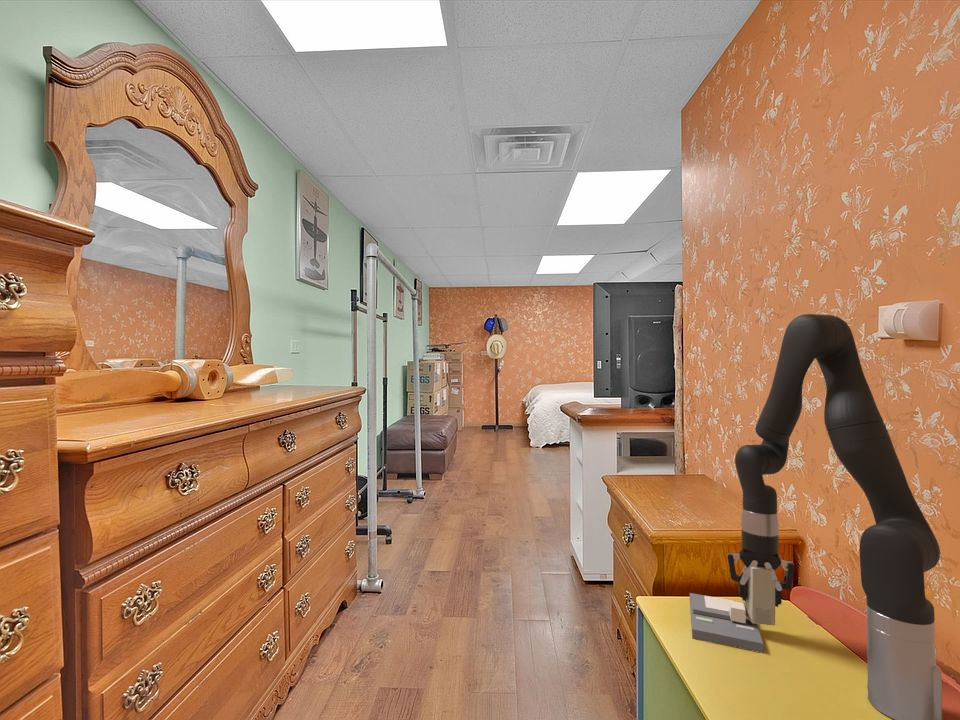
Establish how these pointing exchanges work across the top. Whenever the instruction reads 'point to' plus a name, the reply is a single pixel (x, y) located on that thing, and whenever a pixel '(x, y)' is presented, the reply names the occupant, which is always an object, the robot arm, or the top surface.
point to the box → (760, 596)
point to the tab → (737, 611)
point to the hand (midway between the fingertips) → (759, 602)
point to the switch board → (721, 624)
